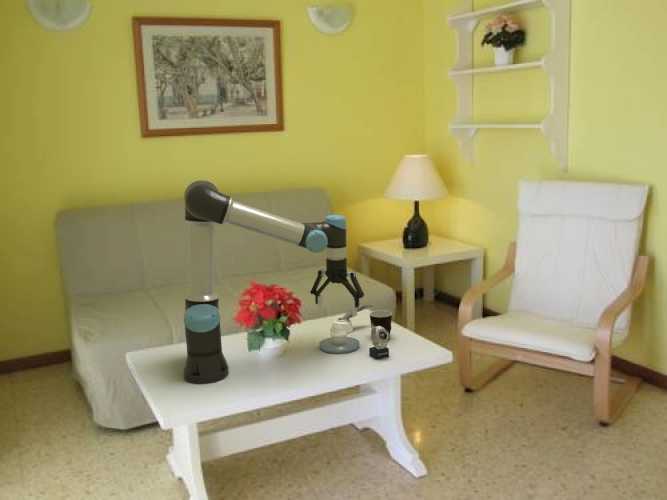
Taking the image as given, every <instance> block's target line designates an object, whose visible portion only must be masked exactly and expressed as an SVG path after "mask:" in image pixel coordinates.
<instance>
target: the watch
mask: <svg viewBox="0 0 667 500" xmlns="http://www.w3.org/2000/svg"><path fill="white" fill-rule="evenodd" d="M389 335H390V336H391V333H390V334H389V333H388V332H387V330H385V329H384V328H383V327H381V326H377V327H373V328H371V331H370V340H371V342H372V345H373V347H369V350H368V352H369V354H368V355H369V357H370V358H372V359H373V360H375V361H377V360H382V359H385V358H390V348H389V347H387V345H388V344H389V340H390V339H389Z"/></svg>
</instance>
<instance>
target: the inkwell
mask: <svg viewBox="0 0 667 500" xmlns="http://www.w3.org/2000/svg"><path fill="white" fill-rule="evenodd" d="M373 307H374V306H373V305H371V304H368V303H359V307H358V308H357V313H359V312H361V311H363V310H364V309H367V308H373ZM351 318H354V317H353V307H352V308H351V309H350V310H348V311H347V312H346V313H345V314H344V315H343V316H339V317H336V318H335V319H333V321H332V323H331V328H330V332H332V331H333V330H334V327H335V326H338V325H339V326H342V327H343V329H344V330H345V331H346V332H347V335H348V334H351V333H353V332H354V326H353V322H352V320H351Z"/></svg>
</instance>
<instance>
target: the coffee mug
mask: <svg viewBox="0 0 667 500" xmlns="http://www.w3.org/2000/svg"><path fill="white" fill-rule="evenodd" d="M392 318H393V312H391V310H390V311H389V310H385V309H380V310H379V309H377V310H373V311H371V312H369V320H370V328H371V329H372V328H373V327H377V326H381V327H383V328H384V329H385V330H387V332H388V333H389V334H390V335H389V340H390V339H391V331H392Z"/></svg>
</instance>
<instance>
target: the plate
mask: <svg viewBox="0 0 667 500" xmlns="http://www.w3.org/2000/svg"><path fill="white" fill-rule="evenodd" d="M318 345H319V346H318V348H319V350H320V351H321V352H323V353H325V354H330V355H345V354H350V353H354V352H357V351H358V350H359V349H360V348H361V346H360V340H358V339H357V338H355V337H351V336H346V339H345V341H344V343H343V344H341V345H337V344H335V343H334V341H333V339H332V338H331V337H328V338H324V339H321V341H320V342H319V344H318Z"/></svg>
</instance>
